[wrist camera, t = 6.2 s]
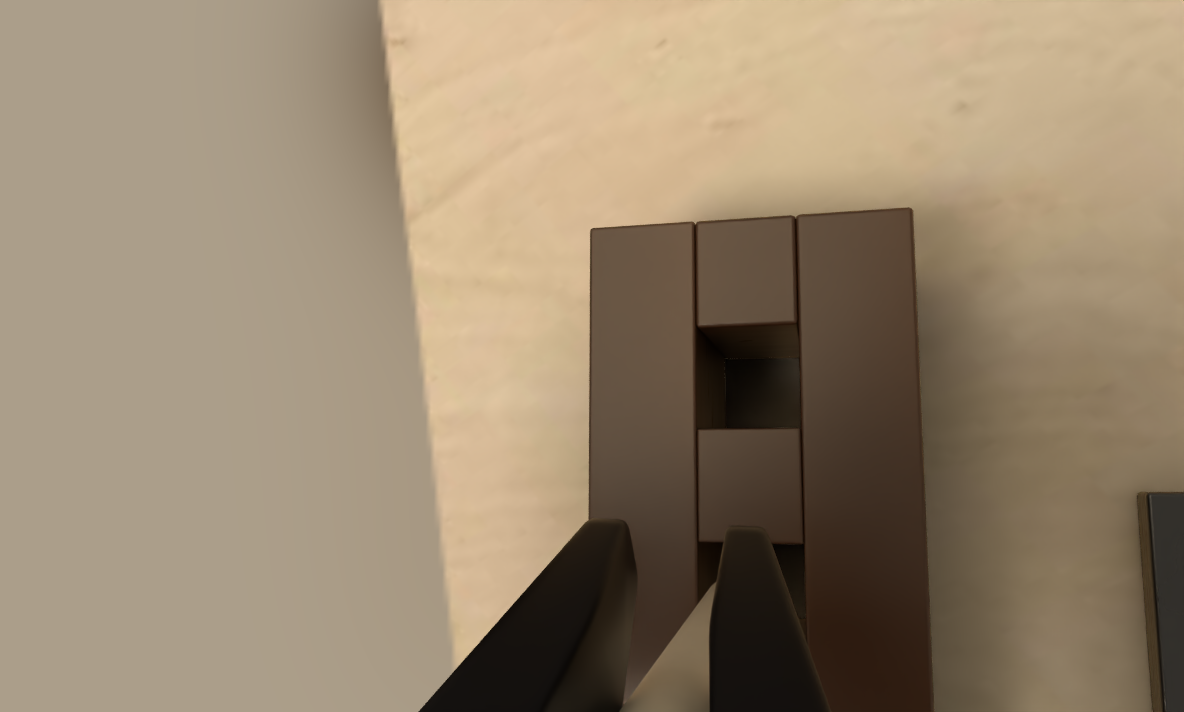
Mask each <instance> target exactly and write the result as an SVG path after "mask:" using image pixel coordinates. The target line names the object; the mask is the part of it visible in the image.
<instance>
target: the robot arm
mask: <svg viewBox="0 0 1184 712" xmlns="http://www.w3.org/2000/svg"><path fill="white" fill-rule="evenodd" d="M637 583H638V577H637V567H636V561H635V556H634V551H633V545H632V540H631V535H630V530H629V527H628V525H627V523H626V522H625V521H624V520H621V519H606V518H592V519H590V520H588V521H587V522H586V523H585V524H584V525H583V526H582V527H581V528H580V529H579V530H578V531H577V533H576V534H575V535H574V536H573V537H572V538H571V539H570V541H569V542H568V543H567V544H566V545H565V546H564V547H563V548H562V550H561V551H560V552H559V553H558V554H557V555H556V556H555V558H554V559H553V560H552V561H551V562H550V563H549V564H548V565H547V567H546V568H545V569H544V570H543V571H542V572H541V573H540V575H539V576H538V577H537V578H536V579H535V580H534V581H533V582H532V584H531V585H530V586H529V587H528V588H527V589H526V590H525V592H524V593H523V594H522V595H521V596H520V597H519V598H518V599H517V601H516V602H515V603H514V604H513V605H512V606H511V607H510V609H509V610H508V611H507V612H506V613H505V614H504V615H503V616H502V618H501V619H500V620H499V621H498V622H497V623H496V624H495V626H494V627H493V628H492V629H491V630H490V631H489V632H488V634H487V635H486V636H485V637H484V638H483V639H482V640H481V641H480V643H479V644H478V645H477V646H476V647H475V648H474V649H473V651H472V652H471V653H470V654H469V655H468V656H467V657H466V658H465V660H464V661H463V662H462V663H461V664H460V665H459V666H458V668H457V669H456V670H455V671H454V672H453V673H452V674H451V675H450V677H449V678H448V679H447V680H446V681H445V682H444V683H443V685H442V686H441V687H440V688H439V689H438V690H437V691H436V692H435V694H434V695H433V696H432V697H431V698H430V699H429V700H428V702H427V703H426V704H425V705H424V706H423V707H422V708H421V709H420V711H419V712H619V711H620V710H621V708H622V706H623V700H624V692H625V684H626V675H627V667H628V659H629V651H630V643H631V635H632V627H633V619H634V611H635V603H636V595H637ZM709 707H710V712H831V709H830V707H829V704H828V701H827V698H826V695H825V693H824V690H823V687H822V684H821V681H820V678H819V676H818V673H817V670H816V667H815V664H814V662H813V659H812V656H811V653H810V650H809V647H808V645H807V642H806V639H805V636H804V633H803V630H802V628H801V625H800V622H799V619H798V616H797V614H796V611H795V608H794V605H793V602H792V599H791V597H790V594H789V591H788V588H787V585H786V583H785V580H784V577H783V574H782V571H781V568H780V566H779V563H778V560H777V557H776V554H775V551H774V549H773V546H772V543H771V540H770V537H769V535H768V532H767V531H766V530H765V529H764V528H763V527H757V526H738V525H732V526H729V527H728V528H727V530H726V532H725V536H724V542H723V548H722V553H721V559H720V564H719V570H718V575H717V581H716V586H715V592H714V597H713V603H712V609H711V616H710V624H709Z"/></svg>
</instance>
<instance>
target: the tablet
mask: <svg viewBox="0 0 1184 712" xmlns="http://www.w3.org/2000/svg"><path fill="white" fill-rule="evenodd" d="M1137 502H1138V516H1139V530H1140V544H1141V558H1142V571H1143V585H1144V599H1145V613H1146V627H1147V640H1148V654H1149V668H1150V682H1151V696H1152V709H1153V712H1184V492H1140V493H1138V495H1137Z"/></svg>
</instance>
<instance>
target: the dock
mask: <svg viewBox="0 0 1184 712" xmlns="http://www.w3.org/2000/svg"><path fill="white" fill-rule="evenodd" d="M798 357H799V368H800V409H801V429H800V428H726V381H725V358H726V359H762V358H798ZM592 518H606V519H621V520H624V521H625V522H626V523H627V525H628V527H629V530H630V535H631V540H632V545H633V551H634V556H635V561H636V567H637V577H638V583H637V595H636V603H635V611H634V619H633V627H632V635H631V643H630V651H629V659H628V667H627V675H626V684H625V692H624V700H623V706H624V704H625V703H626V702H627V700H628V699H629V698H630V696H631V695H632V693H633V692H634V691H635V689H636V688H637V687H638V685H639V684H640V682H641V681H642V680H643V678H644V677H645V676H646V674H647V673H648V672H649V670H650V669H651V667H652V666H653V665H654V663H655V662H656V661H657V659H658V658H659V657H660V655H661V654H662V652H663V651H664V650H665V648H666V647H667V646H668V644H669V643H670V642H671V640H672V639H673V637H674V636H675V635H676V633H677V632H678V631H679V629H680V628H681V627H682V625H683V624H684V622H685V621H686V620H687V618H688V617H689V616H690V614H691V613H692V612H693V610H694V609H695V607H696V606H697V605H698V603H699V602H700V601H701V599H702V598H703V596H704V595H705V594H706V592H707V591H708V590H709V588H710V587H711V586H712V585H713V584H714V583H715V582H716V581H717V575H718V570H719V564H720V559H721V553H722V548H723V542H724V536H725V532H726V530H727V528H728V527H729V526H732V525H738V526H757V527H763V528H764V529H765V530H766V531H767V532H768V535H769V537H770V540H771V543H772V544H803V543H804V571H805V611H806V618H798V619H799V622H800V625H801V628H802V630H803V633H804V636H805V639H806V642H807V645H808V647H809V650H810V653H811V656H812V659H813V662H814V664H815V667H816V670H817V673H818V676H819V678H820V681H821V684H822V687H823V690H824V693H825V695H826V698H827V701H828V704H829V707H830V709H831V712H934V694H933V670H932V647H931V623H930V599H929V575H928V552H927V528H926V504H925V481H924V457H923V433H922V409H921V386H920V362H919V338H918V315H917V291H916V267H915V244H914V220H913V210H912V208H909V207H908V208H893V209H878V210H863V211H848V212H832V213H817V214H802V215H798V216H797V217H796V218H795V216H792V215H789V216H773V217H758V218H743V219H728V220H713V221H699V222H697V223H696V225H695V223H694V222H679V223H664V224H649V225H634V226H619V227H604V228H593V229H591V231H590V368H589V520H590V519H592ZM623 706H622V707H623Z"/></svg>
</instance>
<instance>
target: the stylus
mask: <svg viewBox="0 0 1184 712" xmlns="http://www.w3.org/2000/svg"><path fill="white" fill-rule="evenodd" d="M715 586H716V582H715V583H714V584H713V585H712V586H711V587H710V588H709V590H708V591H707V592H706V594H705V595H704V596H703V598H702V599H701V601H700V602H699V603H698V605H697V606H696V607H695V609H694V610H693V612H692V613H691V614H690V616H689V617H688V618H687V620H686V621H685V622H684V624H683V625H682V627H681V628H680V629H679V631H678V632H677V633H676V635H675V636H674V637H673V639H672V640H671V642H670V643H669V644H668V646H667V647H666V648H665V650H664V651H663V652H662V654H661V655H660V657H659V658H658V659H657V661H656V662H655V663H654V665H653V666H652V667H651V669H650V670H649V672H648V673H647V674H646V676H645V677H644V678H643V680H642V681H641V682H640V684H639V685H638V687H637V688H636V689H635V691H634V692H633V693H632V695H631V696H630V698H629V699H628V700H627V702H626V703H625V704H624V706H623V707H622V708H621V710H620V711H619V712H710V707H709V624H710V616H711V609H712V603H713V597H714V592H715Z"/></svg>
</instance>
